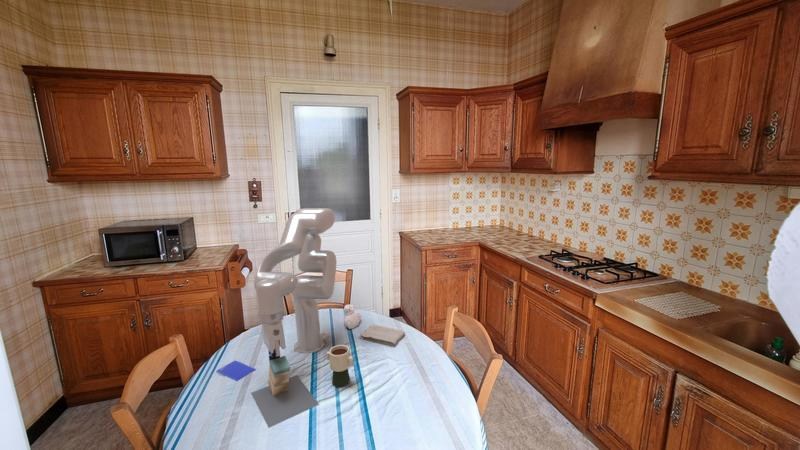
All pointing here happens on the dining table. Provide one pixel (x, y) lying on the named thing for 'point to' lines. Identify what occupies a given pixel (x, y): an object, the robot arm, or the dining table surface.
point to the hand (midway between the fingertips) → (275, 366)
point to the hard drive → (235, 370)
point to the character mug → (340, 364)
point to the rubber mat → (284, 402)
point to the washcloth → (382, 335)
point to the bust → (351, 316)
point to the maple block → (279, 375)
